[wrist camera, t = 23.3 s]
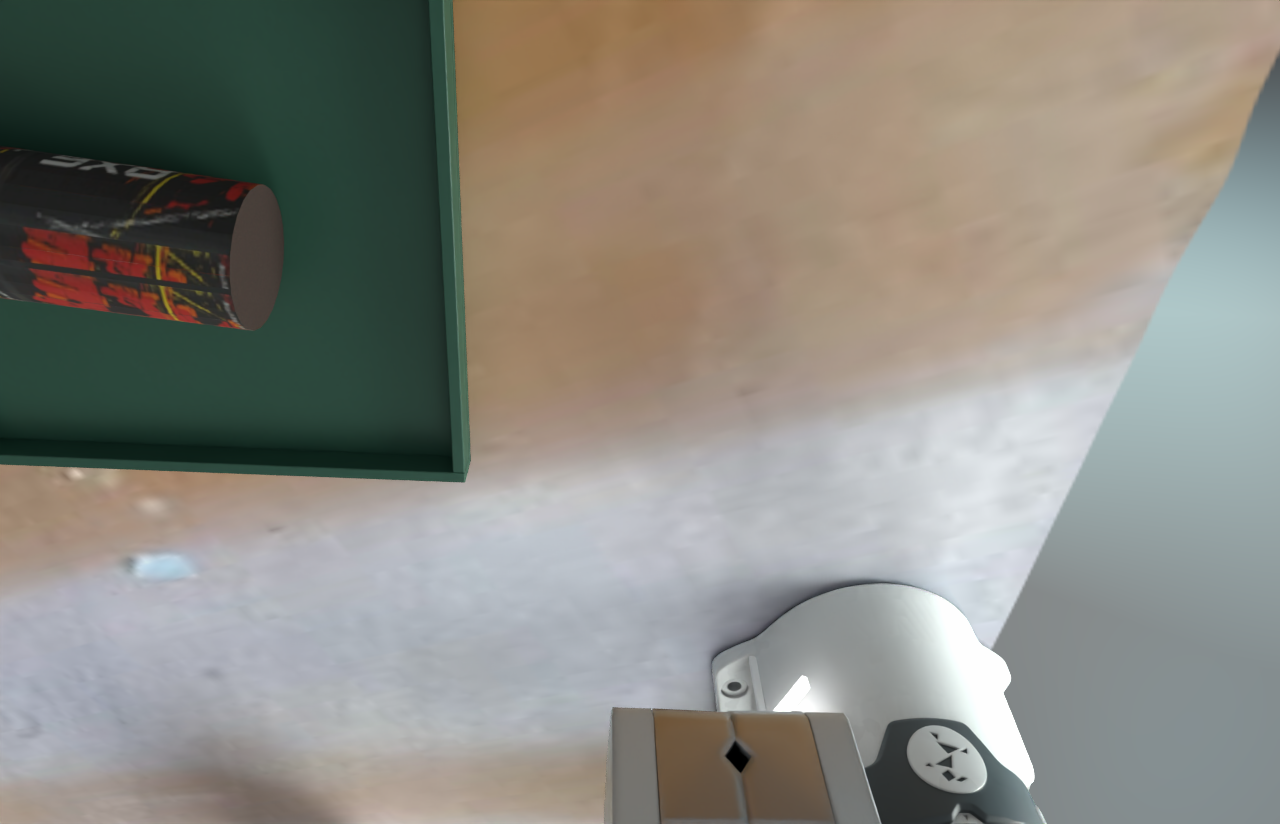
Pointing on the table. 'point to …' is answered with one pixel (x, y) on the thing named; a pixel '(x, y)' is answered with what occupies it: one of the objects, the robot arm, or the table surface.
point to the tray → (312, 226)
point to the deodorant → (138, 240)
